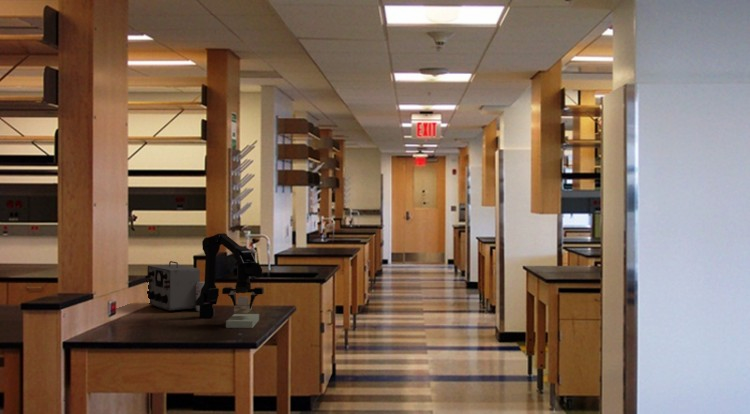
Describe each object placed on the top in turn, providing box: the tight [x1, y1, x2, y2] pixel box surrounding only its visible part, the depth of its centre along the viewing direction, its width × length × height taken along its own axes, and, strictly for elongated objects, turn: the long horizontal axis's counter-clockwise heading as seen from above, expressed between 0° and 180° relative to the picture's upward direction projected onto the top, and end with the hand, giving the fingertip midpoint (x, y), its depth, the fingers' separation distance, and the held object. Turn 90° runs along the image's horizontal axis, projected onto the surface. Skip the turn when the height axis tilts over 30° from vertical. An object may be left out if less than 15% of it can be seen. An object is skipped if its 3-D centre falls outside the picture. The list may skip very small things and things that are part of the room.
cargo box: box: [236, 296, 250, 306], centre depth 350 cm, size 4×4×4 cm
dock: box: [225, 313, 260, 329], centre depth 350 cm, size 12×22×3 cm, turn 1°
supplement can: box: [195, 280, 208, 313], centre depth 391 cm, size 8×8×15 cm
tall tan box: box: [233, 302, 253, 314], centre depth 350 cm, size 6×11×3 cm, turn 1°
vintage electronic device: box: [144, 260, 201, 313], centre depth 399 cm, size 32×18×25 cm, turn 37°
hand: (243, 309), depth 351 cm, fingers closed on tall tan box, 6 cm apart
